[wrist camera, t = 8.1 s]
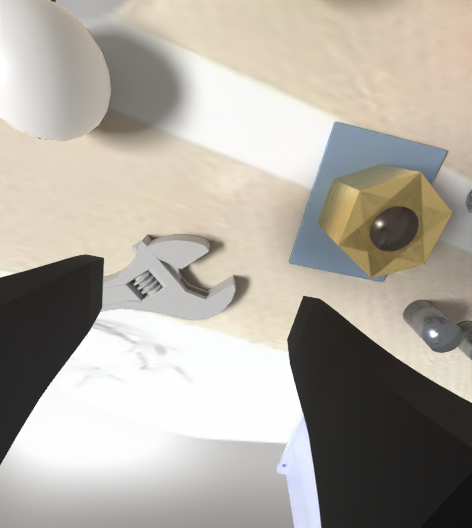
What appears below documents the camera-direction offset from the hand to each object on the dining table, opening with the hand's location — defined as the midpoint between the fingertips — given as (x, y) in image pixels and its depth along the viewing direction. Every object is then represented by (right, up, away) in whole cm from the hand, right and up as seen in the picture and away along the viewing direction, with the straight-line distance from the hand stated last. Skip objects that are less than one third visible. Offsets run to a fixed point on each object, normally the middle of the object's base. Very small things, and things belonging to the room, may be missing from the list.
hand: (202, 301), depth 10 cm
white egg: (-9, +11, +5) cm, 15 cm away
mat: (+9, +5, +8) cm, 13 cm away
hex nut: (+9, +5, +8) cm, 13 cm away
